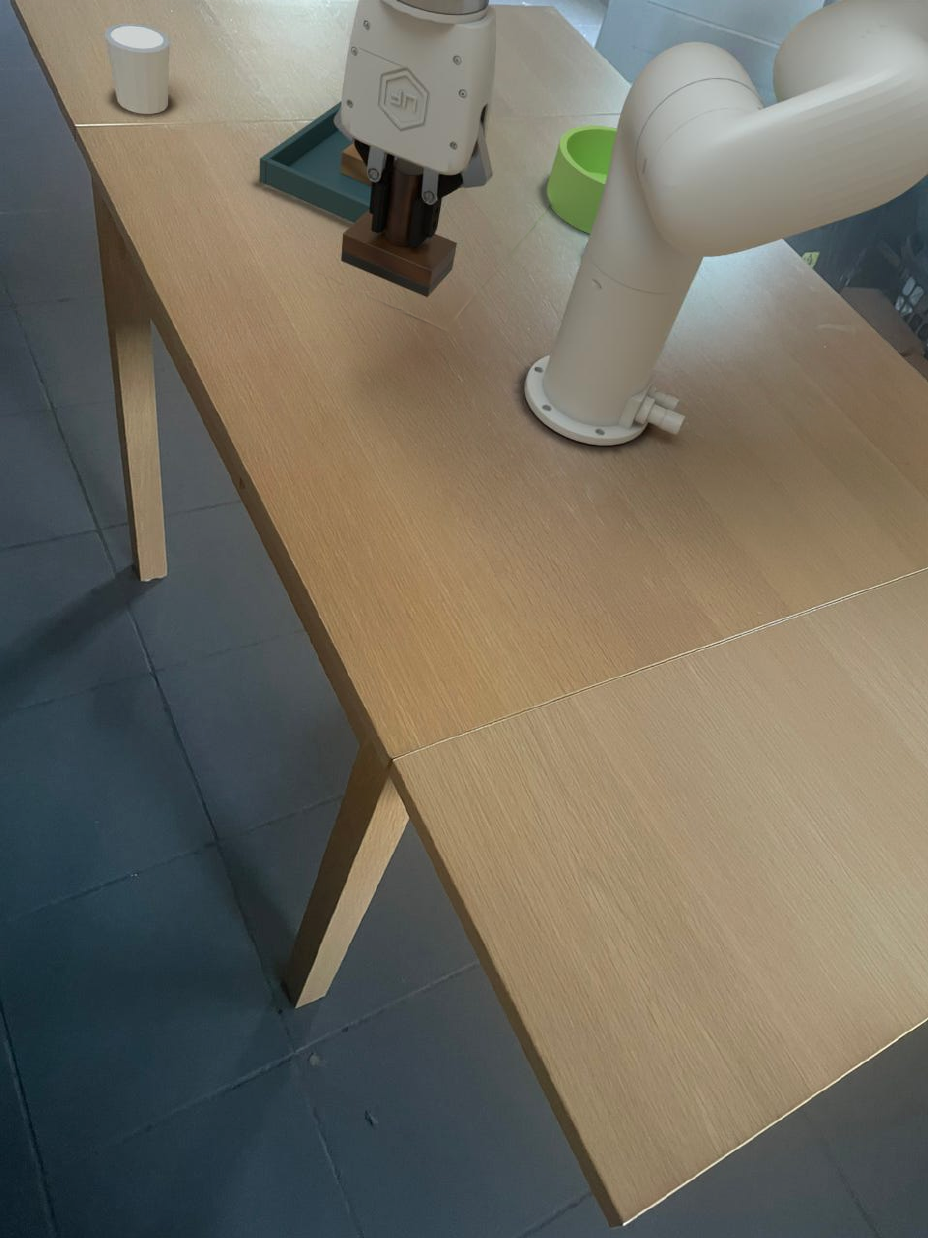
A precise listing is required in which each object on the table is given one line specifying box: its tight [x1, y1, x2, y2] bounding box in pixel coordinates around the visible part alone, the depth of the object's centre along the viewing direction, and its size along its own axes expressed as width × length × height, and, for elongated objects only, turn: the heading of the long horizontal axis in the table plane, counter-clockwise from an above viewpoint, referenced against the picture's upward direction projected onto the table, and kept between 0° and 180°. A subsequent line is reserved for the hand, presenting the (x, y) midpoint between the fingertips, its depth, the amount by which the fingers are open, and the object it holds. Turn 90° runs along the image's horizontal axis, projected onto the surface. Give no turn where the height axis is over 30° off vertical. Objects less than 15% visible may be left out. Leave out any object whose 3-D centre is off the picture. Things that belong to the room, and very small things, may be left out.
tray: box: [259, 100, 399, 224], centre depth 107 cm, size 16×24×3 cm, turn 156°
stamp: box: [340, 158, 458, 298], centre depth 73 cm, size 8×5×8 cm, turn 66°
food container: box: [546, 124, 617, 235], centre depth 105 cm, size 25×15×13 cm, turn 7°
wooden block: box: [341, 143, 372, 186], centre depth 105 cm, size 4×4×2 cm
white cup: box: [104, 22, 171, 115], centre depth 104 cm, size 7×7×7 cm
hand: (401, 230), depth 74 cm, fingers closed on stamp, 2 cm apart
